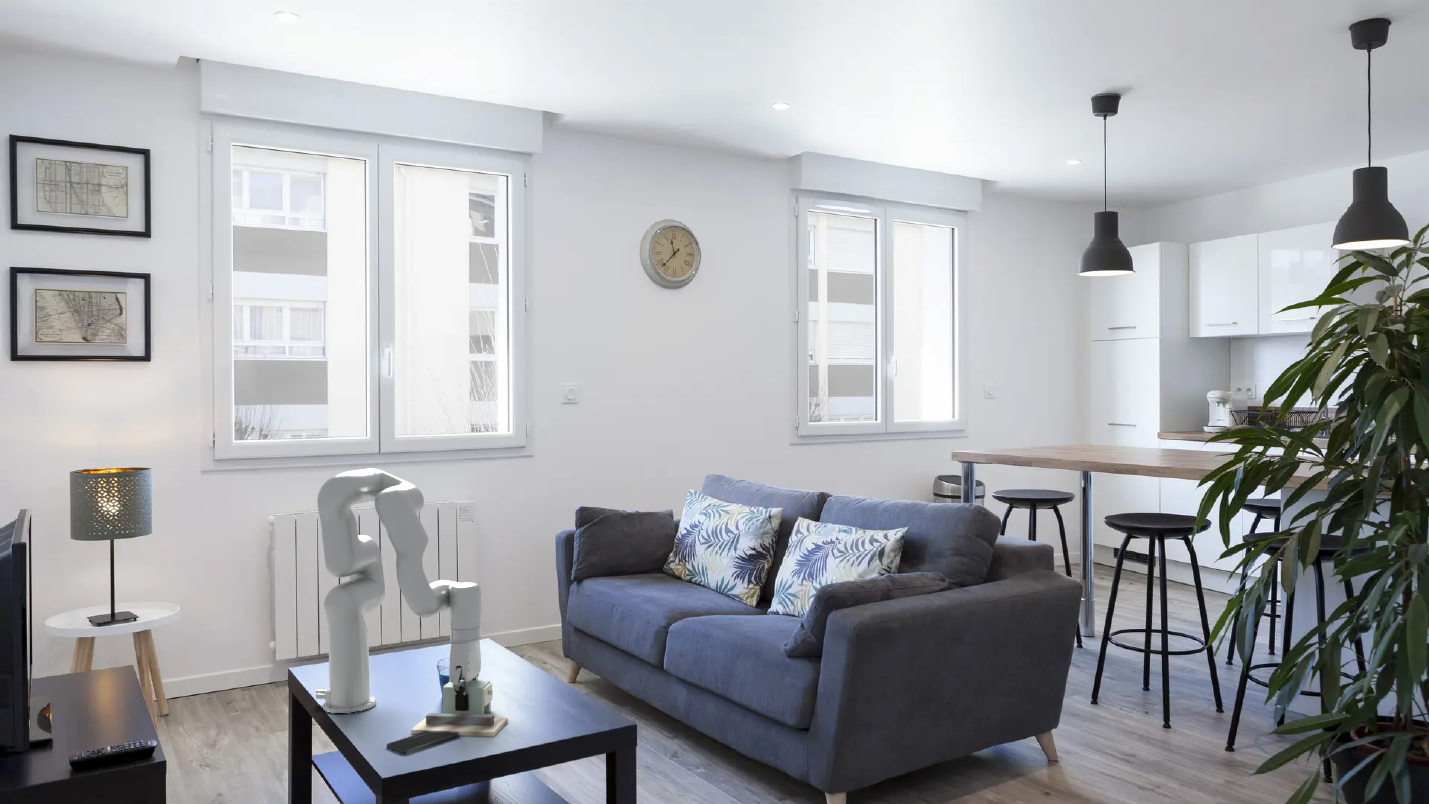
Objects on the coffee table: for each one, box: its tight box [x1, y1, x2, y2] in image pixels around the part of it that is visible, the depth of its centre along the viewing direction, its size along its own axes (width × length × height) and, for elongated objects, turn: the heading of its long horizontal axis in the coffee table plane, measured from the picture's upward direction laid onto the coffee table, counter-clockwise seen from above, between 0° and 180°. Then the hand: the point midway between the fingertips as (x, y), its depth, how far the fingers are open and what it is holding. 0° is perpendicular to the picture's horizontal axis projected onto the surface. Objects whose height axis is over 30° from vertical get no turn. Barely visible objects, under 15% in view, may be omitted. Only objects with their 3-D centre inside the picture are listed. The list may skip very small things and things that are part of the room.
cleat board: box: [410, 712, 509, 737], centre depth 237 cm, size 20×10×3 cm, turn 83°
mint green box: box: [442, 679, 494, 714], centre depth 247 cm, size 11×6×8 cm, turn 83°
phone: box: [386, 731, 460, 756], centre depth 227 cm, size 8×1×15 cm
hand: (467, 705), depth 247 cm, fingers closed on mint green box, 6 cm apart
